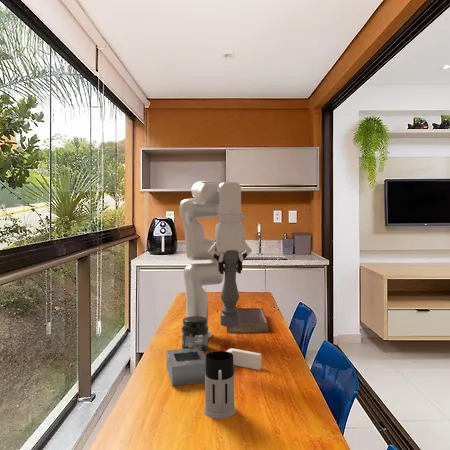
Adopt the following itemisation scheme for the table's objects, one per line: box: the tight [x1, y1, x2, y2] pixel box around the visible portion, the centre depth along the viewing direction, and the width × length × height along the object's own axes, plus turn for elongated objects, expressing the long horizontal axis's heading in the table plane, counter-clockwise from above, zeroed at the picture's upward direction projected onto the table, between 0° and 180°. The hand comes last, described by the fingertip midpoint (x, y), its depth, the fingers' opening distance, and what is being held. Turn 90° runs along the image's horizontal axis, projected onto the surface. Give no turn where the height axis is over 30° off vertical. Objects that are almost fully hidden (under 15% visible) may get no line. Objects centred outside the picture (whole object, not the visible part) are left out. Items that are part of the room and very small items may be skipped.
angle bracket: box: [225, 348, 262, 371], centre depth 143 cm, size 10×17×5 cm, turn 104°
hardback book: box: [226, 307, 270, 333], centre depth 199 cm, size 29×19×5 cm, turn 179°
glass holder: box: [203, 350, 237, 420], centre depth 108 cm, size 9×14×15 cm, turn 2°
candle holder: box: [220, 251, 240, 328], centre depth 139 cm, size 6×6×25 cm
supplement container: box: [181, 316, 209, 352], centre depth 162 cm, size 10×10×12 cm
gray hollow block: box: [166, 347, 206, 387], centre depth 136 cm, size 16×12×6 cm
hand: (230, 272), depth 138 cm, fingers closed on candle holder, 5 cm apart
